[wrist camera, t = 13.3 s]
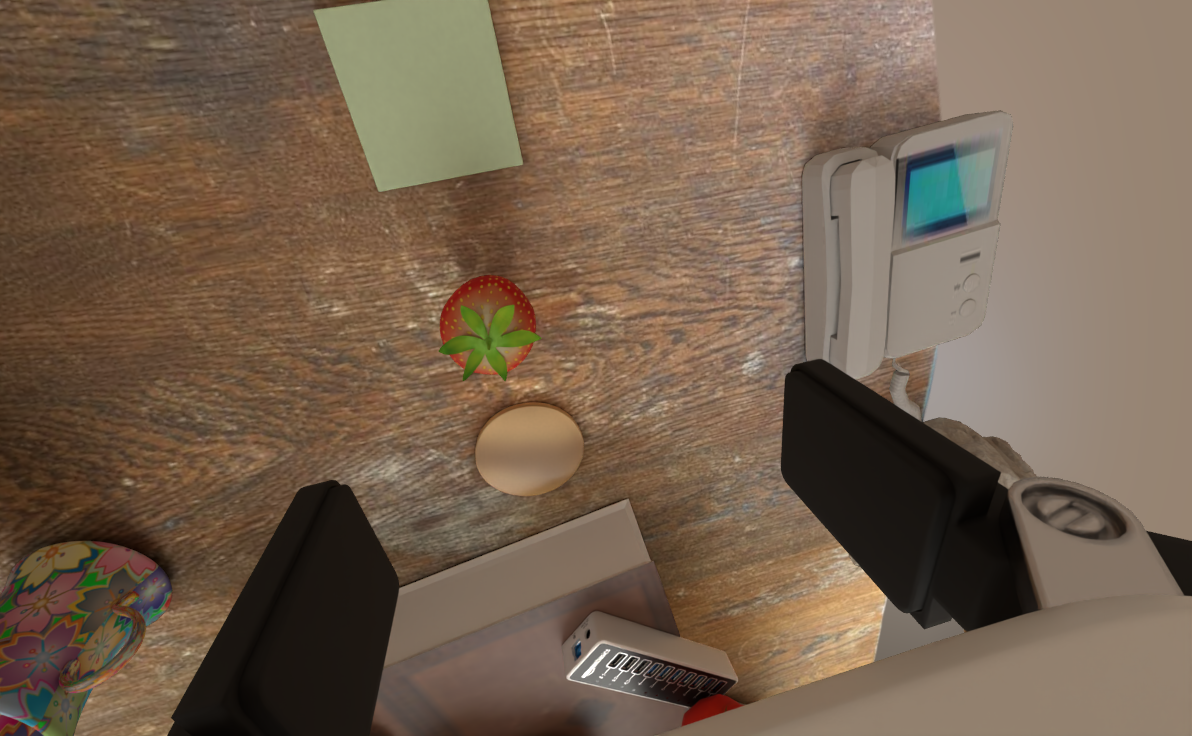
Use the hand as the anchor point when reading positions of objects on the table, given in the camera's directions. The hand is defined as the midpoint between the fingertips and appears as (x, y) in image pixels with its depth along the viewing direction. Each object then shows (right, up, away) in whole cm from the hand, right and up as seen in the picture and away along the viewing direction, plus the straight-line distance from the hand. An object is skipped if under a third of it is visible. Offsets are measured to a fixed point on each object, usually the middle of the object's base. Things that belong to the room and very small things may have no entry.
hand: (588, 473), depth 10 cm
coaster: (-5, -4, +24) cm, 25 cm away
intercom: (+26, -5, +29) cm, 39 cm away
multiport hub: (+4, -20, +27) cm, 34 cm away
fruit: (-7, +6, +19) cm, 21 cm away
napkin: (-9, +16, +14) cm, 23 cm away
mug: (-32, -12, +22) cm, 41 cm away
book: (-5, -25, +34) cm, 42 cm away
